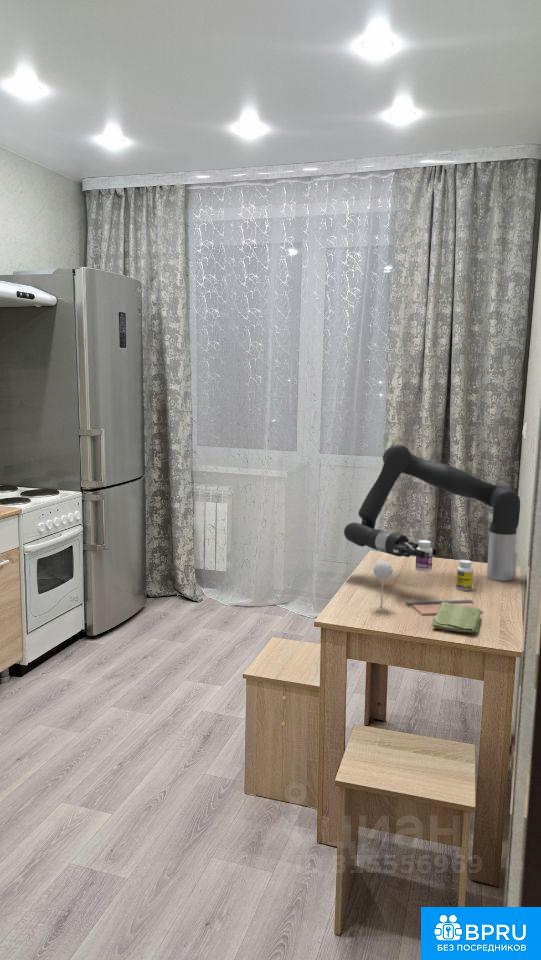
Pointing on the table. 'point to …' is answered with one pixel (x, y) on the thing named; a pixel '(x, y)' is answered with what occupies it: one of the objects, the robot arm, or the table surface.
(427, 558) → the pill bottle
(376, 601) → the table surface
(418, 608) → the mat
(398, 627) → the table surface
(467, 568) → the supplement bottle
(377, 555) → the table surface
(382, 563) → the lollipop
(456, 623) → the washcloth
